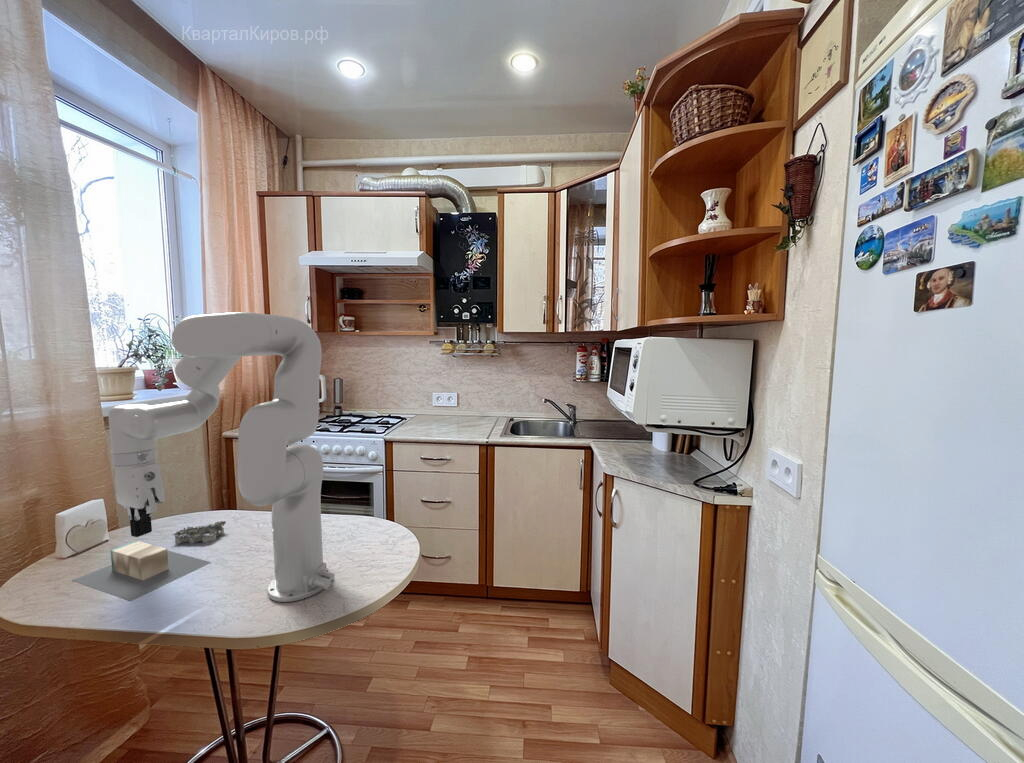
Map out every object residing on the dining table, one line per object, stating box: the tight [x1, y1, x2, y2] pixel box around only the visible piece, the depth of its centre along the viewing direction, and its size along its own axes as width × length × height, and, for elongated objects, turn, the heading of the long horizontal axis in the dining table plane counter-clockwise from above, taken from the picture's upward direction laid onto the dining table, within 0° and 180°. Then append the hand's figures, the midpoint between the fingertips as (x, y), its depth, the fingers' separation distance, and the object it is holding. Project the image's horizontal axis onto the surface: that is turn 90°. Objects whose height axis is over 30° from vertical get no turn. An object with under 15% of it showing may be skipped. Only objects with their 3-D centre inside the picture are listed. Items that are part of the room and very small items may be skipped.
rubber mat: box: [71, 549, 212, 602], centre depth 94 cm, size 22×16×1 cm
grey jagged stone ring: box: [171, 520, 227, 545], centre depth 110 cm, size 11×8×4 cm
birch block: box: [110, 540, 169, 580], centre depth 94 cm, size 5×5×12 cm
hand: (141, 534), depth 93 cm, fingers closed
